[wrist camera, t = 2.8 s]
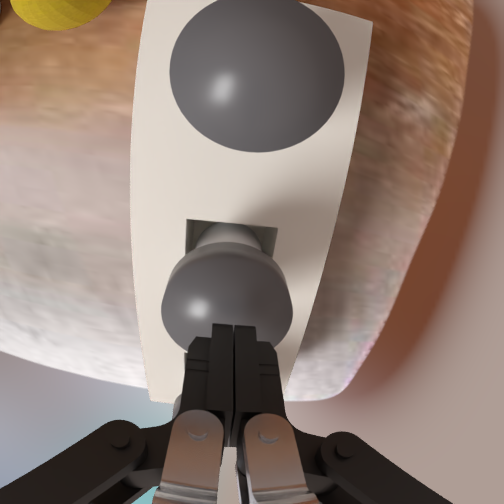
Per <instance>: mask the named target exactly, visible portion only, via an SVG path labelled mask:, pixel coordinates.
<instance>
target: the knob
mask: <svg viewBox="0 0 504 504" xmlns="http://www.w3.org/2000/svg"><path fill="white" fill-rule="evenodd" d="M169 75H170V84H171V89H172V93H173V96H174V98H175V101H176V103H177V105H178V107H179V109H180V111H181V112H182V114H183V115H184V117H185V118H186V119H187V120H188V122H189V123H190V124H191V125H192V126H193V127H194V128H195V129H196V130H197V131H199V132H200V133H201V134H202V135H204V136H205V137H207V138H208V139H210V140H212V141H213V142H215V143H217V144H220V145H222V146H224V147H227V148H231V149H234V150H238V151H244V152H255V153H261V152H272V151H278V150H282V149H285V148H289V147H292V146H294V145H296V144H298V143H301V142H303V141H304V140H306V139H307V138H309V137H311V136H312V135H313V134H315V133H316V132H317V131H318V130H319V129H320V128H321V127H322V126H323V125H324V124H325V123H326V122H327V121H328V120H329V118H330V117H331V116H332V114H333V113H334V111H335V109H336V107H337V105H338V103H339V100H340V98H341V95H342V91H343V87H344V78H345V69H344V60H343V55H342V52H341V49H340V46H339V43H338V41H337V39H336V37H335V35H334V34H333V32H332V31H331V29H330V28H329V26H328V25H327V24H326V23H325V22H324V21H323V20H322V18H321V17H319V16H318V15H317V14H316V13H315V12H314V11H312V10H311V9H310V8H308V7H306V6H305V5H303V4H302V3H300V2H298V1H295V0H217V1H215V2H213V3H211V4H209V5H208V6H206V7H205V8H203V9H202V10H201V11H199V12H198V13H197V14H196V15H194V16H193V18H192V19H191V20H190V21H189V22H188V23H187V24H186V25H185V27H184V28H183V30H182V31H181V33H180V34H179V36H178V38H177V40H176V42H175V45H174V48H173V50H172V54H171V59H170V70H169Z"/></svg>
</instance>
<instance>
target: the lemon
mask: <svg viewBox="0 0 504 504" xmlns="http://www.w3.org/2000/svg"><path fill="white" fill-rule="evenodd" d="M111 1H112V0H10V2H11V5H12V7H13V9H14V11H15V12H16V13H17V14H18V15H19V16H20V17H21V18H22V19H23V20H24V21H25V22H27V23H28V24H31V25H33V26H35V27H38V28H41V29H44V30H67V29H71V28H76V27H79V26H81V25H83V24H85V23H88V22H89V21H91V20H92V19H94V18H95V17H97V16H98V15H99V14H100V13H101V12H102V11H104V10H105V9H106V7H107V6H108V5H109V4H110V2H111Z"/></svg>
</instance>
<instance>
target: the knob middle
mask: <svg viewBox="0 0 504 504" xmlns="http://www.w3.org/2000/svg"><path fill="white" fill-rule="evenodd" d="M161 316H162V321H163V324H164V327H165V329H166V331H167V333H168V334H169V336H170V337H171V338H172V339H173V340H174V342H175V343H177V344H178V345H179V346H180V347H181V348H183V349H184V350H185V351H187V352H188V346H189V345H190V344H191V342H192V341H193V340H194V339H195V337H196V336H198V337H209V338H211V335H212V323H218V324H230V325H233V332H234V325H245V326H255V327H256V335H257V341H266V342H270V343H271V345H272V346H273V348H274V347H276V346H277V345H278V344H279V343H280V342H281V341H282V340H283V339H284V337H285V336H286V334H287V333H288V331H289V329H290V326H291V323H292V318H293V307H292V302H291V298H290V294H289V290H288V286H287V282H286V279H285V276H284V274H283V272H282V270H281V268H280V267H279V266H278V264H277V263H276V262H275V261H274V260H273V259H272V258H271V257H270V256H268V255H267V254H266V253H264V252H262V246H261V242H260V240H259V238H258V236H257V235H256V233H255V232H254V231H253V230H252V229H251V228H249V227H248V226H246V225H244V224H236V223H226V222H218V223H215V224H212V225H210V226H209V227H207V228H206V229H205V230H204V231H203V232H202V233H201V234H200V236H199V237H198V239H197V242H196V245H195V249H194V250H192V251H191V252H189V253H188V254H186V255H185V256H184V257H183V258H182V259H180V260H179V262H178V263H177V264H176V265H175V267H174V268H173V270H172V272H171V274H170V277H169V280H168V283H167V286H166V290H165V293H164V296H163V300H162V305H161Z"/></svg>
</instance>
